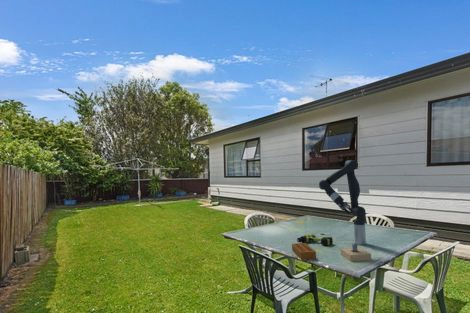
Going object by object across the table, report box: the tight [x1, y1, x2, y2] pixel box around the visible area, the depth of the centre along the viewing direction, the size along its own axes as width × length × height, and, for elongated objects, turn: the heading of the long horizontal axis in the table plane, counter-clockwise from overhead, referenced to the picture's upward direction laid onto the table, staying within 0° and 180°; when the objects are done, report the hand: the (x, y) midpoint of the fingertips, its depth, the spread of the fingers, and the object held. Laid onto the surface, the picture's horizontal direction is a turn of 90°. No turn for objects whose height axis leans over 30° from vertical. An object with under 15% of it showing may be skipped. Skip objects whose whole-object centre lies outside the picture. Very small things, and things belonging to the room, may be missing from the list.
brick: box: [291, 242, 317, 261], centre depth 222 cm, size 25×12×6 cm, turn 4°
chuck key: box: [351, 242, 358, 252], centre depth 210 cm, size 4×4×10 cm
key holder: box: [340, 247, 372, 262], centre depth 210 cm, size 16×16×4 cm
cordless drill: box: [296, 233, 334, 246], centre depth 251 cm, size 7×25×25 cm
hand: (351, 212), depth 230 cm, fingers open, 8 cm apart
